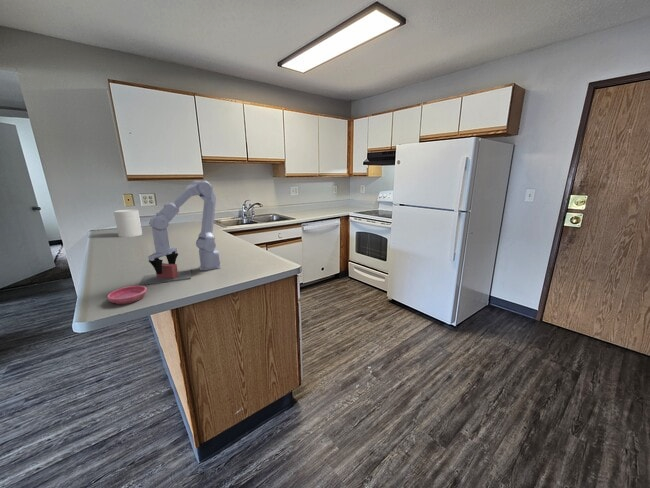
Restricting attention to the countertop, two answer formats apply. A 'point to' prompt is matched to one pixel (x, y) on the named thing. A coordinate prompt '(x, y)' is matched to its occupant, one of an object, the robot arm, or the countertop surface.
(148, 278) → the mat
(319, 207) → the countertop surface
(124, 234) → the canister
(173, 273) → the box
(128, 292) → the saucer
